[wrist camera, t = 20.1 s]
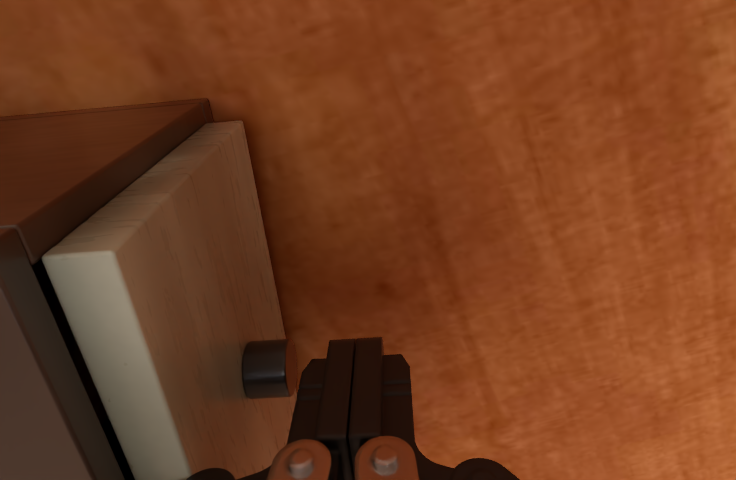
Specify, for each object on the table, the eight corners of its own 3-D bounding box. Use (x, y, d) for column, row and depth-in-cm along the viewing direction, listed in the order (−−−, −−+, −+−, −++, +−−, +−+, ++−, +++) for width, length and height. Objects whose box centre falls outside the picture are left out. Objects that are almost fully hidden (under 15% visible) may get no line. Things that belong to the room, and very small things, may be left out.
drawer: (281, 116, 16) (188, 245, 8) (330, 412, 21) (303, 663, 13) (-168, 155, 16) (-661, 309, 9) (-10, 431, 22) (-225, 680, 14)
